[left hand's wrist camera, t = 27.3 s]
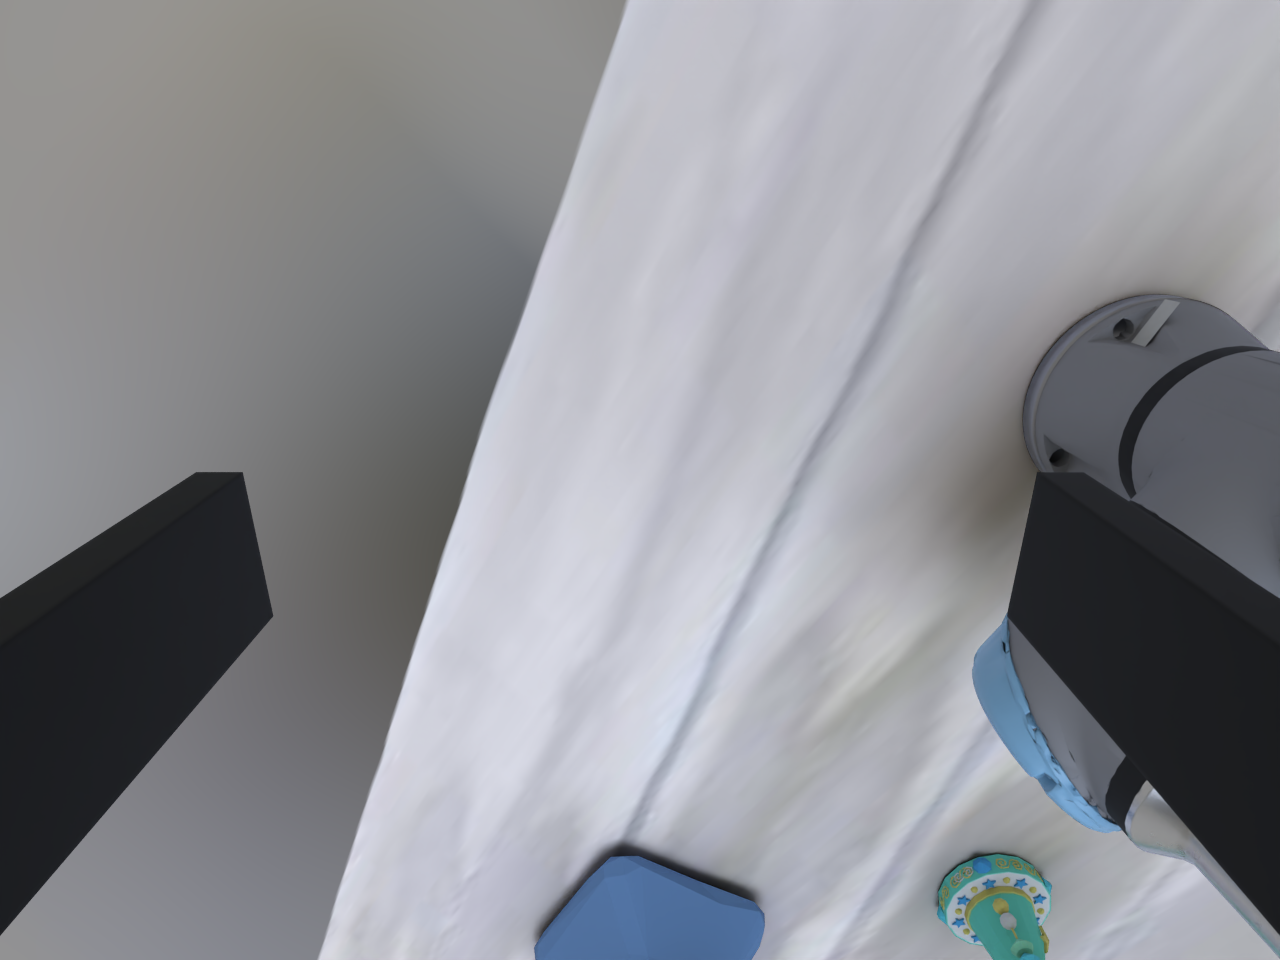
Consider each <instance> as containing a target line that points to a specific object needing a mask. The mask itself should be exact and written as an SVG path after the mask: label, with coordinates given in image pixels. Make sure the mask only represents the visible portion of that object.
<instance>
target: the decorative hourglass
mask: <svg viewBox="0 0 1280 960" xmlns="http://www.w3.org/2000/svg"><path fill="white" fill-rule="evenodd" d="M1051 887H1052V885H1051V884H1050V883H1049V882H1048V881H1047V880H1045V879H1044V878H1043V877H1040V875H1039V874H1038V872H1037V871H1036V870H1035V868H1034V867H1033V865H1031V864H1029V863H1027V862H1026V861H1024V860H1022V859H1020V858H1018V857H1014V856H1007V855H1000V854H996V855H989V856H983V857H977V858H975V859H973V860H970V861H968V862H966V863H964V864H961V865H959V866H958V867H957V868H956V869H955V870H953V871H952V872H951V873H950V874H949V875H948V876H947V877H946V878H945V879H944V881H943V883H942V885H941V888H940V890H939V892H938V896H939V907H938V911H937V915H938V918H939V919H940V920H942V921H943V922H944V923H945V924H947V925H948V927H949V928H950V929H951V931H952V932H953V934H954V935H955V936H956V937H958V938H960V939H962V940H964V941H966V942H968V943H969V944H975V945H981V946H984V947H985V948H986V950H987V951H988V953H989V954H990V956H991V957H992V959H993V960H1045V953H1047V952H1048V946H1049V939H1048V937H1047V936H1046V934H1045V932H1044V930H1043V928H1042V926H1041V925H1043V923H1044V921H1045V919H1046V918H1047V916H1048V914H1049V912H1050V911H1051V895H1050V893H1051ZM1039 928H1040V929H1039ZM1040 930H1041V932H1040ZM1041 933H1042V935H1041Z"/></svg>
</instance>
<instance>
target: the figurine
mask: <svg viewBox="0 0 1280 960" xmlns="http://www.w3.org/2000/svg"><path fill="white" fill-rule="evenodd" d="M764 927H765V921H764V913H763V912H762V911H761V909H760V908H759V907H758V906H757V905H756V903H755V902H753V901H750V900H748V899H745V898H742V897H740V896H737V895H734V894H732V893H729V892H726V891H724V890H721V889H718V888H716V887H713V886H710V885H708V884H705V883H702V882H700V881H697V880H695V879H692V878H690V877H687V876H685V875H683V874H680V873H678V872H675V871H673V870H671V869H668V868H666V867H663V866H661V865H659V864H656V863H654V862H651V861H649V860H647V859H644V858H642V857H640V856H619V857H610V858H609V859H608V860H607V861H606V862H605V863H604V864H603V865H602V866H601V867H600V868H599V869H598V870H597V871H596V872H595V873H593V874H592V875H591V876H590V877H589V878H588V879H587V881H586V882H585V883H584V884H583V885H582V887H581V888H580V889H579V890H578V891H577V893H576V894H575V895H574V896H573V897H572V899H571V900H570V901H569V902H568V903H567V905H566V906H565V907H564V908H563V909H562V911H561V912H560V913H559V914H558V915H557V917H556V918H555V919H554V920H553V921H552V923H551V924H550V925H549V926H548V927H547V929H546V930H545V931H544V933H543V934H542V936H541V937H540V939H539V941H538V942H537V944H536V946H535V947H534V950H535V960H751V959H752V958H753V956H754V955H755V953H756V951H757V950H758V948H759V946H760V943H761V939H762V936H763V932H764Z"/></svg>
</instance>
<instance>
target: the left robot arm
mask: <svg viewBox="0 0 1280 960" xmlns="http://www.w3.org/2000/svg"><path fill="white" fill-rule="evenodd" d="M1023 430H1024V438H1025V442H1026V446H1027V449H1028V451H1029V454H1030V456H1031V458H1032V460H1033V462H1034V463H1035V465H1036V466H1037V468H1038V469H1039V470H1040V471H1041V472H1037V476H1036V481H1035V486H1034V491H1033V495H1032V500H1031V505H1030V509H1029V514H1028V519H1027V523H1026V528H1025V533H1024V538H1023V542H1022V547H1021V552H1020V556H1019V561H1018V566H1017V570H1016V575H1015V580H1014V585H1013V589H1012V594H1011V599H1010V603H1009V608H1008V612H1007V614H1006V616H1005V618H1004V620H1003V622H1002V624H1001V625H1000V626H999V627H998V628H997V629H996V631H995V632H994V633H993V634H992V635H991V636H990V637H989V638H988V639H987V640H986V641H985V642H984V643H983V644H982V645H981V647H980V648H979V649H978V651H977V652H976V654H975V657H974V666H973V669H972V678H973V683H974V687H975V691H976V694H977V696H978V699H979V701H980V704H981V706H982V708H983V710H984V712H985V714H986V716H987V717H988V719H989V721H990V723H991V724H992V726H993V728H994V729H995V731H996V732H997V734H998V735H999V737H1000V738H1001V740H1002V741H1003V743H1004V744H1005V746H1006V747H1007V748H1008V750H1009V751H1010V753H1011V754H1012V755H1013V757H1014V758H1015V759H1016V760H1017V762H1018V763H1019V764H1020V765H1021V767H1022V768H1023V769H1024V770H1025V771H1026V772H1027V773H1028V774H1029V775H1030V776H1031V777H1034V778H1036V779H1037V780H1038V781H1039V783H1040V784H1041V786H1042V788H1043V789H1044V791H1045V792H1046V794H1047V795H1048V796H1049V797H1050V798H1051V799H1052V800H1053V801H1054V802H1055V803H1056V804H1057V805H1058V806H1059V807H1060V808H1061V809H1062V810H1064V811H1065V812H1066V813H1067V814H1068V815H1070V816H1071V817H1072V818H1074V819H1075V820H1076V821H1078V822H1079V823H1081V824H1082V825H1084V826H1086V827H1088V828H1090V829H1092V830H1096V831H1099V832H1103V833H1109V832H1112V831H1120V830H1123V831H1124V833H1125V834H1126V835H1127V836H1128V837H1129V839H1130V840H1131V841H1132V842H1133V843H1134V844H1135V845H1136V846H1137V847H1138V848H1139V849H1141V850H1143V851H1145V852H1149V853H1153V854H1158V855H1162V856H1167V857H1172V858H1177V859H1181V860H1185V861H1187V862H1189V863H1192V864H1194V865H1195V866H1196V867H1197V868H1198V869H1199V871H1200V872H1201V873H1202V874H1203V875H1204V876H1205V877H1206V878H1207V879H1208V880H1209V881H1210V883H1211V884H1212V885H1213V886H1214V887H1215V888H1216V889H1217V890H1218V891H1219V892H1220V894H1221V895H1222V896H1223V897H1224V898H1225V899H1226V900H1227V901H1228V902H1229V903H1230V904H1231V906H1232V907H1233V908H1234V909H1235V910H1236V911H1237V912H1238V913H1239V914H1240V915H1241V917H1242V918H1243V919H1244V920H1245V921H1246V922H1247V923H1248V924H1249V925H1250V926H1251V927H1252V929H1253V930H1254V931H1255V932H1256V933H1257V934H1258V935H1259V936H1260V937H1261V938H1262V940H1263V941H1264V942H1265V943H1266V944H1267V945H1268V946H1269V947H1270V948H1271V949H1272V951H1273V952H1274V953H1275V954H1276V955H1277V956H1278V957H1279V958H1280V352H1276V351H1272V350H1269V349H1268V348H1267V347H1266V346H1265V345H1263V344H1262V343H1261V342H1260V341H1259V340H1258V339H1257V338H1255V337H1254V336H1253V335H1252V334H1251V333H1250V332H1249V331H1247V330H1246V329H1245V328H1244V327H1243V326H1242V325H1241V324H1239V323H1238V322H1237V321H1236V320H1235V319H1233V318H1232V317H1231V316H1229V315H1228V314H1227V313H1225V312H1223V311H1222V310H1220V309H1218V308H1216V307H1214V306H1212V305H1210V304H1207V303H1204V302H1201V301H1197V300H1192V299H1187V298H1183V297H1178V296H1172V295H1143V296H1137V297H1132V298H1128V299H1124V300H1121V301H1118V302H1115V303H1112V304H1110V305H1107V306H1105V307H1103V308H1101V309H1099V310H1097V311H1095V312H1093V313H1092V314H1090V315H1088V316H1087V317H1085V318H1084V319H1082V320H1081V321H1079V322H1078V323H1077V324H1075V325H1074V326H1073V327H1072V328H1071V329H1069V330H1068V331H1067V332H1066V333H1065V334H1064V335H1063V336H1062V337H1061V338H1060V339H1059V340H1058V341H1057V342H1056V343H1055V344H1054V345H1053V347H1052V348H1051V349H1050V350H1049V352H1048V353H1047V354H1046V356H1045V357H1044V359H1043V360H1042V362H1041V363H1040V365H1039V367H1038V368H1037V370H1036V372H1035V374H1034V376H1033V378H1032V381H1031V383H1030V386H1029V389H1028V392H1027V395H1026V400H1025V404H1024V412H1023ZM272 617H273V613H272V608H271V603H270V599H269V594H268V589H267V585H266V580H265V575H264V570H263V566H262V561H261V556H260V552H259V547H258V542H257V538H256V533H255V528H254V524H253V519H252V514H251V509H250V505H249V500H248V495H247V491H246V486H245V481H244V476H243V473H242V472H196V473H194V474H193V475H191V476H190V477H188V478H187V479H185V480H183V481H182V482H180V483H179V484H177V485H176V486H174V487H173V488H171V489H170V490H168V491H167V492H165V493H163V494H162V495H160V496H159V497H157V498H156V499H154V500H152V501H151V502H149V503H148V504H146V505H145V506H143V507H142V508H140V509H138V510H137V511H135V512H134V513H132V514H131V515H129V516H128V517H126V518H124V519H123V520H121V521H120V522H118V523H117V524H115V525H114V526H112V527H111V528H109V529H107V530H106V531H104V532H103V533H101V534H100V535H98V536H96V537H95V538H93V539H92V540H90V541H89V542H87V543H86V544H84V545H82V546H81V547H79V548H78V549H76V550H75V551H73V552H72V553H70V554H68V555H67V556H65V557H64V558H62V559H61V560H59V561H58V562H56V563H54V564H53V565H51V566H50V567H48V568H47V569H45V570H44V571H42V572H40V573H39V574H37V575H36V576H34V577H33V578H31V579H30V580H28V581H26V582H25V583H23V584H22V585H20V586H19V587H17V588H16V589H14V590H12V591H11V592H9V593H8V594H6V595H5V596H3V597H2V598H0V935H1V934H2V933H3V932H4V930H5V929H6V928H7V927H8V926H9V925H10V924H11V922H12V921H13V920H14V919H15V918H16V917H17V915H18V914H19V913H20V912H21V911H22V909H23V908H24V907H25V906H26V905H27V904H28V902H29V901H30V900H31V899H32V898H33V897H34V895H35V894H36V893H37V892H38V891H39V890H40V888H41V887H42V886H43V885H44V884H45V883H46V881H47V880H48V879H49V878H50V877H51V876H52V874H53V873H54V872H55V871H56V870H57V869H58V867H59V866H60V865H61V864H62V863H63V862H64V860H65V859H66V858H67V857H68V856H69V854H70V853H71V852H72V851H73V850H74V849H75V847H76V846H77V845H78V844H79V843H80V842H81V840H82V839H83V838H84V837H85V836H86V835H87V833H88V832H89V831H90V830H91V829H92V828H93V826H94V825H95V824H96V823H97V822H98V820H99V819H100V818H101V817H102V816H103V815H104V814H105V812H106V811H107V810H108V809H109V808H110V807H111V805H112V804H113V803H114V802H115V801H116V799H117V798H118V797H119V796H120V795H121V794H122V792H123V791H124V790H125V789H126V788H127V787H128V785H129V784H130V783H131V782H132V781H133V780H134V778H135V777H136V776H137V775H138V774H139V773H140V771H141V770H142V769H143V768H144V767H145V765H146V764H147V763H148V762H149V761H150V760H151V759H152V757H153V756H154V755H155V754H156V753H157V751H158V750H159V749H160V748H161V747H162V746H163V744H164V743H165V742H166V741H167V740H168V739H169V737H170V736H171V735H172V734H173V733H174V732H175V730H176V729H177V728H178V727H179V726H180V725H181V723H182V722H183V721H184V720H185V719H186V718H187V716H188V715H189V714H190V713H191V712H192V711H193V709H194V708H195V707H196V706H197V705H198V704H199V702H200V701H201V700H202V699H203V698H204V696H205V695H206V694H207V693H208V692H209V691H210V690H211V688H212V687H213V686H214V685H215V684H216V682H217V681H218V680H219V679H220V678H221V677H222V675H223V674H224V673H225V672H226V671H227V670H228V668H229V667H230V666H231V665H232V664H233V663H234V661H235V660H236V659H237V658H238V657H239V656H240V654H241V653H242V652H243V651H244V650H245V649H246V647H247V646H248V645H249V644H250V643H251V642H252V640H253V639H254V638H255V637H256V636H257V635H258V633H259V632H260V631H261V630H262V629H263V627H264V626H265V625H266V624H267V623H268V622H269V620H270V619H271V618H272Z"/></svg>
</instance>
